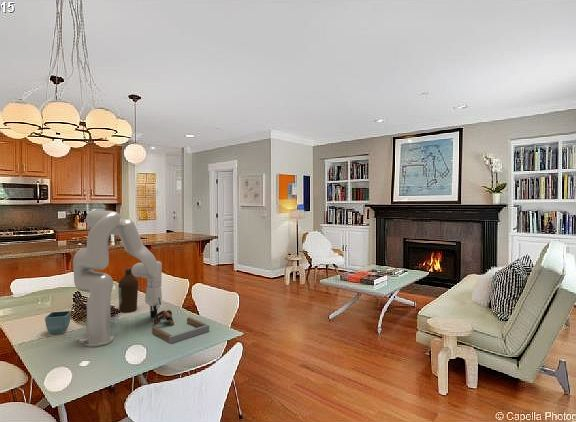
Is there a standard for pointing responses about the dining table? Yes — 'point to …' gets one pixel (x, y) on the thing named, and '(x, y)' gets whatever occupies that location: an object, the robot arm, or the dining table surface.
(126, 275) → the olive oil
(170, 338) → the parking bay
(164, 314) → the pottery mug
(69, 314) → the flower pot
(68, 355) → the dining table surface
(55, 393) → the dining table surface
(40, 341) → the dining table surface
